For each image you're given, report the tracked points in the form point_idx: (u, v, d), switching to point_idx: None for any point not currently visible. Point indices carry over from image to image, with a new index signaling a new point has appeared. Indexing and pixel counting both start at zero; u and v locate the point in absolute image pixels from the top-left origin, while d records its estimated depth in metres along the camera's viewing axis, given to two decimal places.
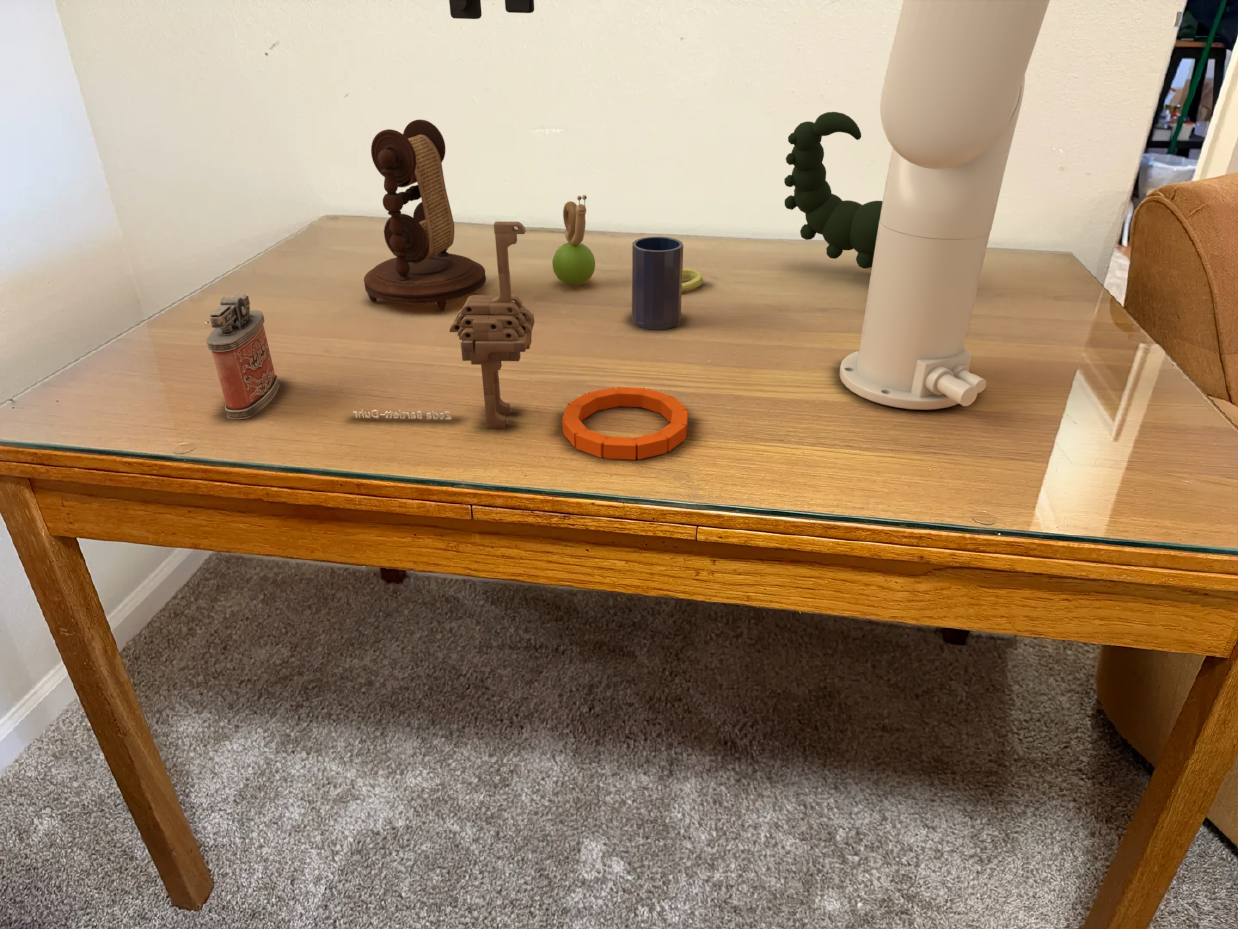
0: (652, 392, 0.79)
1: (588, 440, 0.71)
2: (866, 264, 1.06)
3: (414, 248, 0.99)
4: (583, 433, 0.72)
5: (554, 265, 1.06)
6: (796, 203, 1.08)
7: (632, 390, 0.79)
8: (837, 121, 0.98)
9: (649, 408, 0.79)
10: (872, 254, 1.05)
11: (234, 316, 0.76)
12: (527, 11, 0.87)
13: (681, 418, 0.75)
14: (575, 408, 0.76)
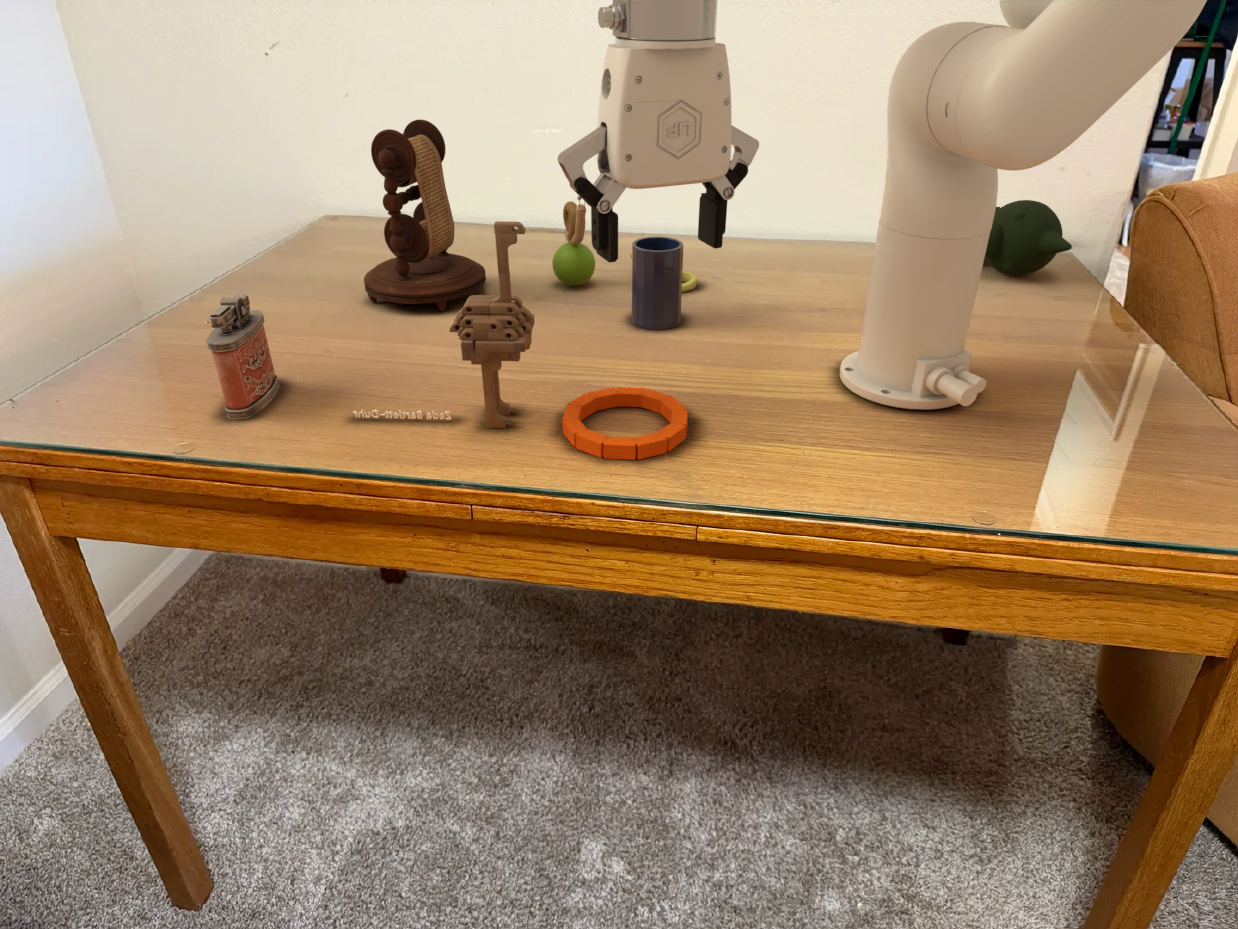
0: (652, 392, 0.79)
1: (588, 440, 0.71)
2: None
3: (414, 248, 0.99)
4: (583, 433, 0.72)
5: (554, 265, 1.06)
6: None
7: (632, 390, 0.79)
8: None
9: (649, 408, 0.79)
10: None
11: (234, 316, 0.76)
12: (712, 246, 0.72)
13: (681, 418, 0.75)
14: (575, 408, 0.76)
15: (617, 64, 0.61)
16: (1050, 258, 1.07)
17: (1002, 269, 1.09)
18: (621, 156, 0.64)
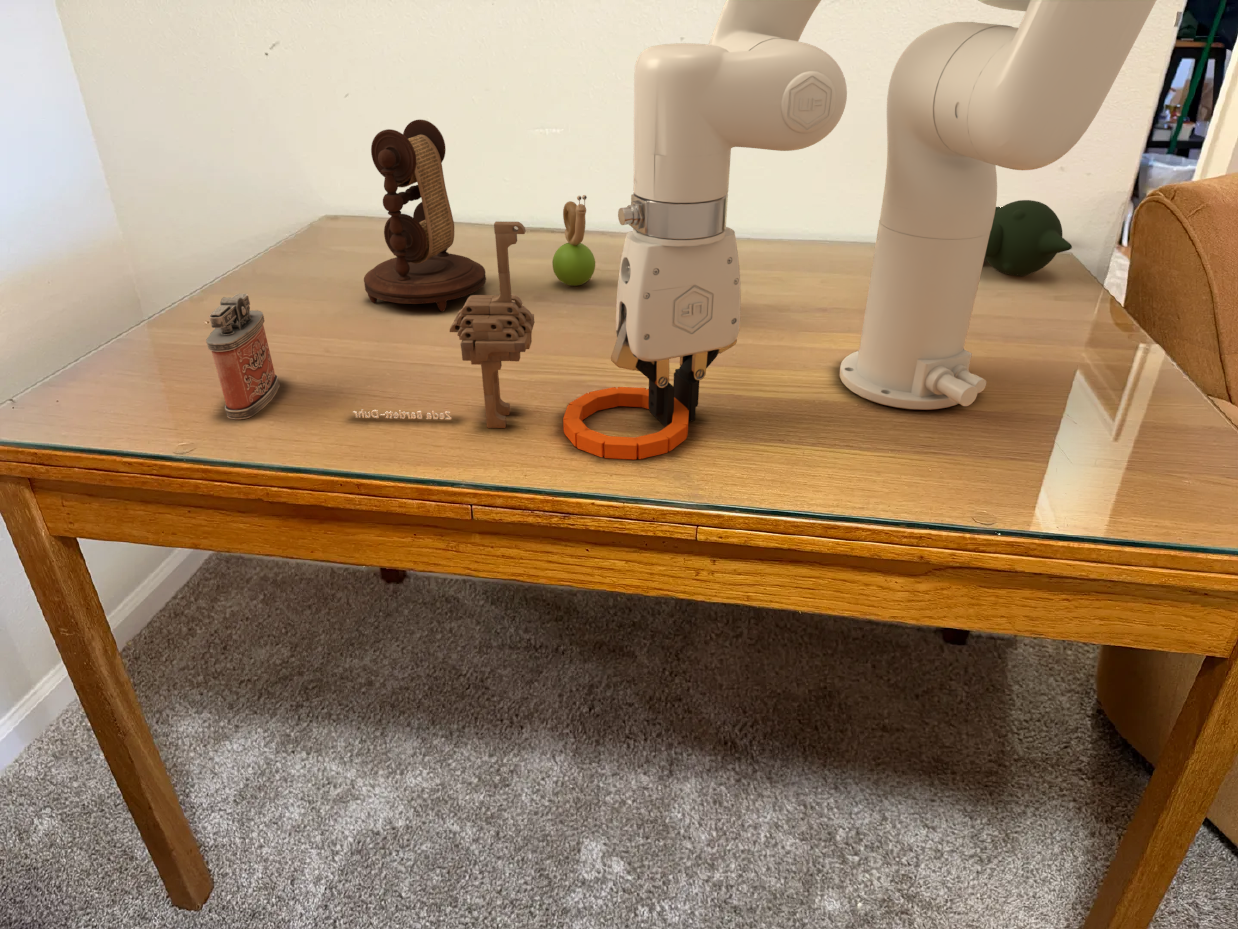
0: None
1: (589, 440, 0.71)
2: None
3: (414, 248, 0.99)
4: (584, 433, 0.72)
5: (554, 265, 1.06)
6: None
7: (633, 390, 0.79)
8: None
9: None
10: None
11: (234, 316, 0.76)
12: None
13: (682, 417, 0.75)
14: (576, 408, 0.76)
15: (636, 258, 0.67)
16: (1050, 258, 1.07)
17: (1002, 269, 1.09)
18: (640, 336, 0.69)
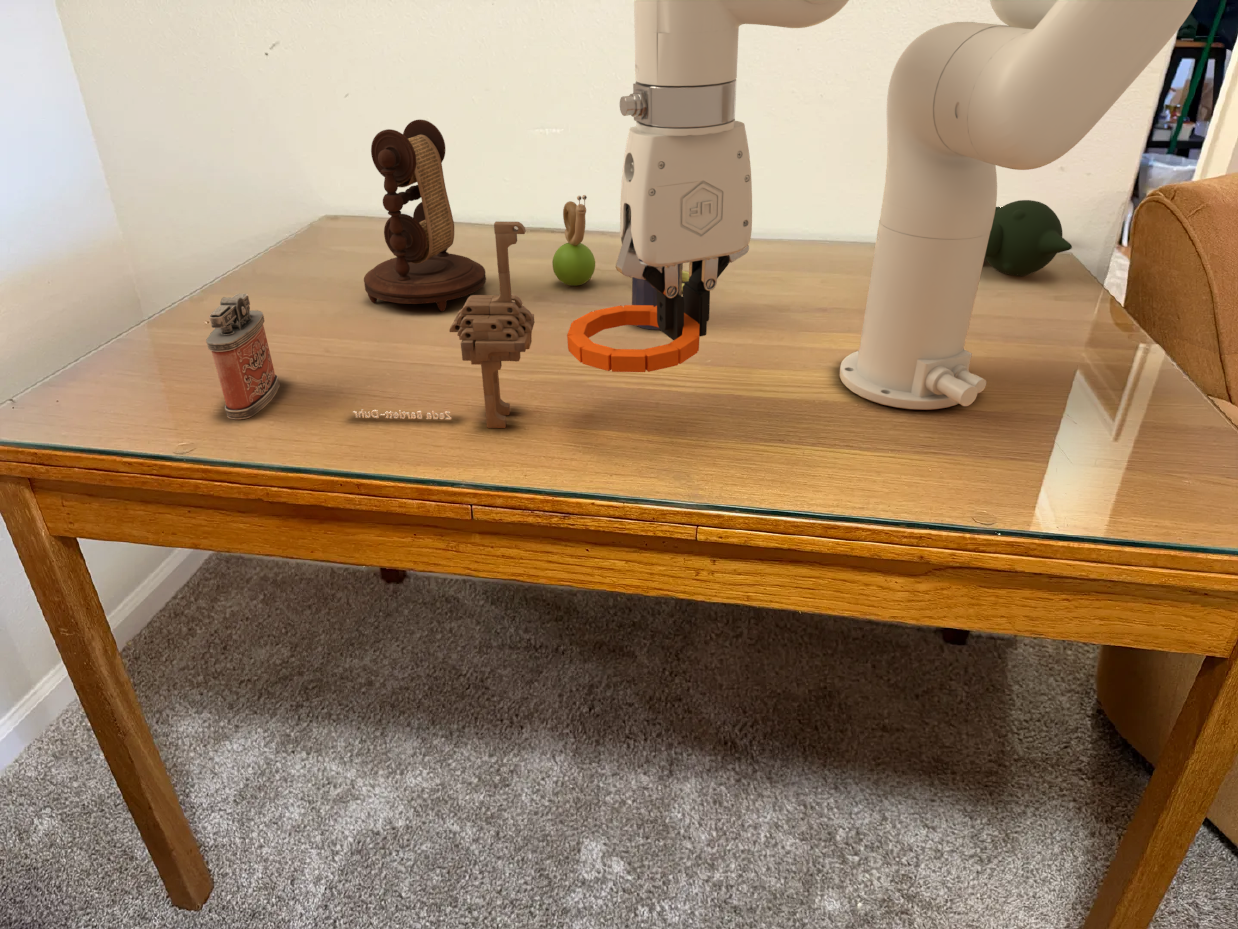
0: None
1: (595, 353, 0.68)
2: None
3: (414, 248, 0.99)
4: (589, 346, 0.68)
5: (554, 265, 1.06)
6: None
7: (640, 307, 0.75)
8: None
9: None
10: None
11: (234, 316, 0.76)
12: None
13: (693, 330, 0.71)
14: (580, 325, 0.72)
15: (640, 151, 0.62)
16: (1050, 258, 1.07)
17: (1002, 269, 1.09)
18: (646, 237, 0.65)
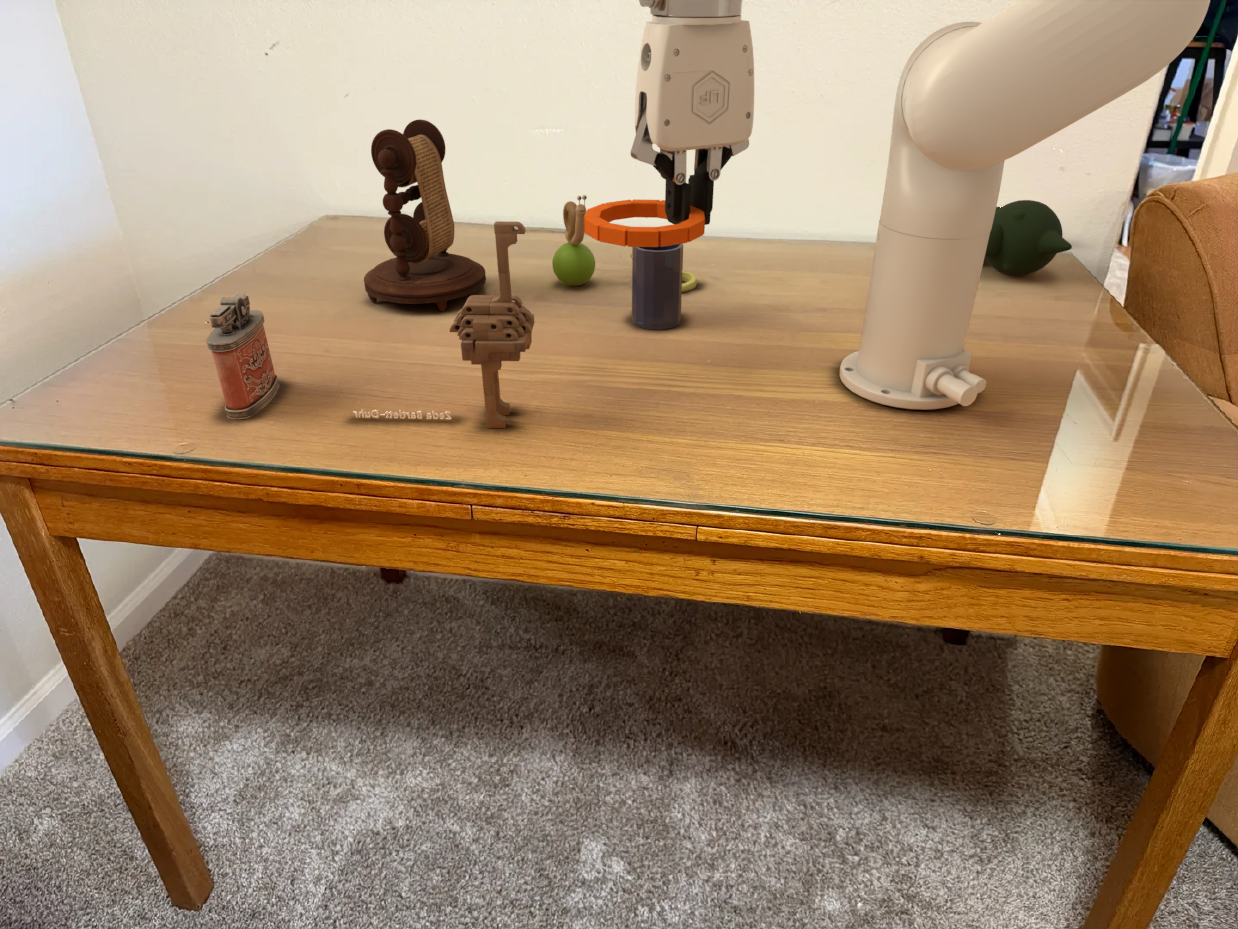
0: None
1: (612, 229, 0.74)
2: None
3: (414, 248, 0.99)
4: (606, 225, 0.75)
5: (554, 265, 1.06)
6: None
7: (648, 201, 0.82)
8: None
9: (665, 217, 0.82)
10: None
11: (234, 316, 0.76)
12: None
13: (699, 215, 0.77)
14: (595, 211, 0.79)
15: (657, 39, 0.69)
16: (1050, 258, 1.07)
17: (1002, 269, 1.09)
18: (660, 121, 0.72)
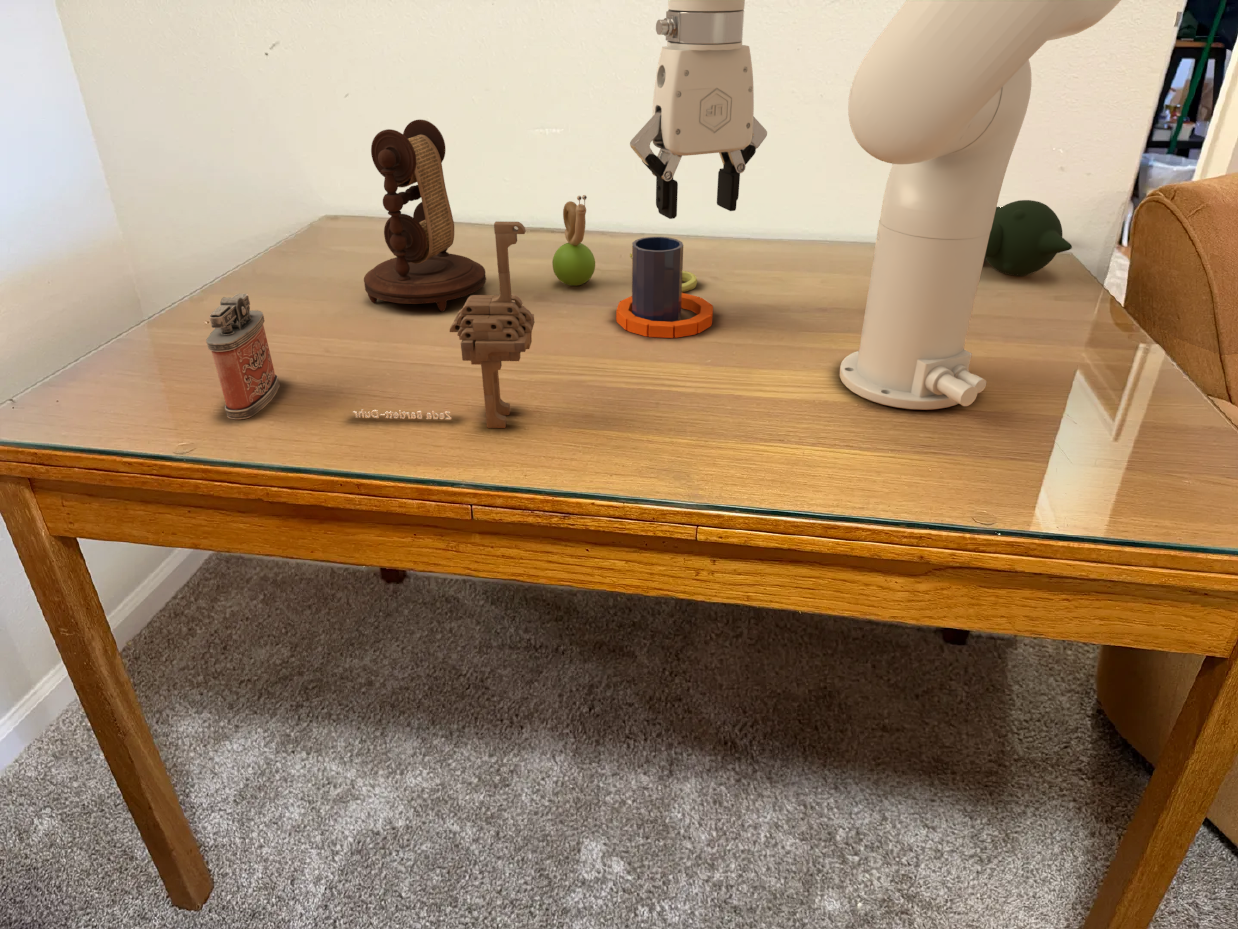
0: (685, 294, 1.01)
1: (637, 323, 0.94)
2: None
3: (414, 248, 0.99)
4: (633, 318, 0.95)
5: (554, 265, 1.06)
6: None
7: None
8: None
9: (682, 307, 1.01)
10: None
11: (234, 316, 0.76)
12: (728, 209, 0.94)
13: (708, 310, 0.97)
14: (626, 304, 0.99)
15: (670, 61, 0.83)
16: (1050, 258, 1.07)
17: (1002, 269, 1.09)
18: (672, 130, 0.85)
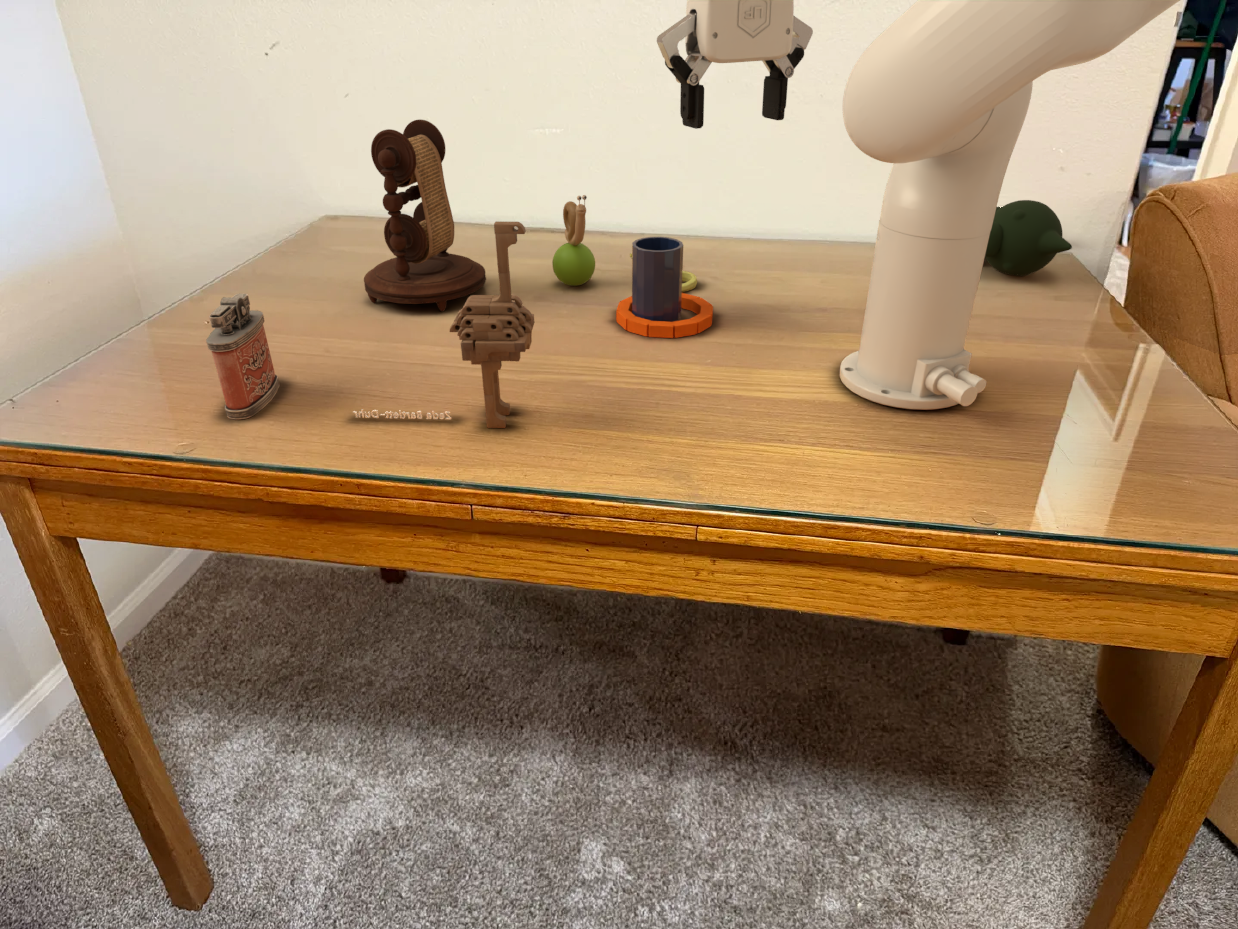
0: (685, 294, 1.01)
1: (637, 323, 0.94)
2: None
3: (414, 248, 0.99)
4: (633, 318, 0.95)
5: (554, 265, 1.06)
6: None
7: None
8: None
9: (682, 307, 1.01)
10: None
11: (234, 316, 0.76)
12: (776, 118, 0.88)
13: (708, 310, 0.97)
14: (626, 304, 0.99)
15: None
16: (1050, 258, 1.07)
17: (1002, 269, 1.09)
18: (709, 34, 0.80)
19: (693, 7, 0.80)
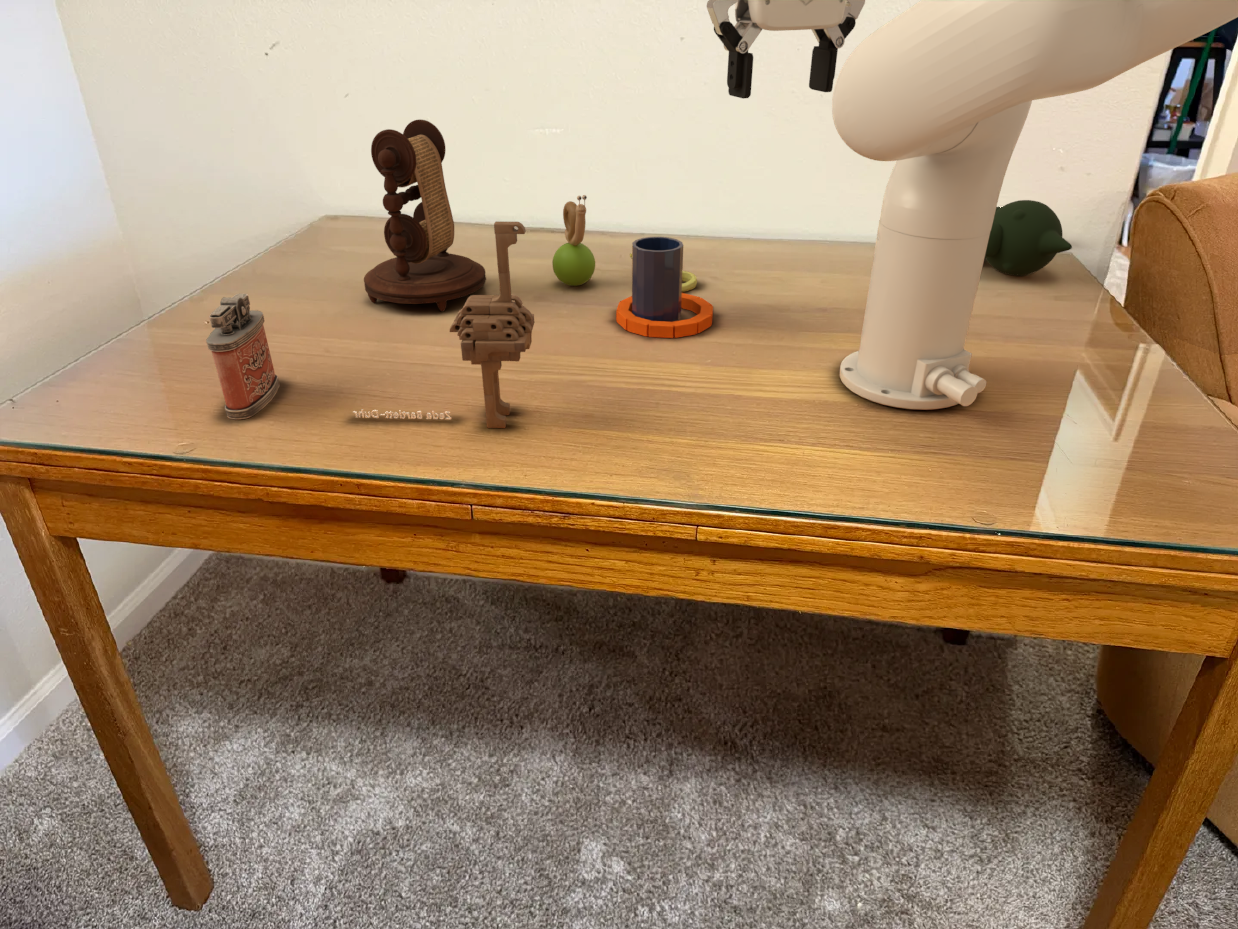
0: (685, 294, 1.01)
1: (637, 323, 0.94)
2: None
3: (414, 248, 0.99)
4: (633, 318, 0.95)
5: (554, 265, 1.06)
6: None
7: None
8: None
9: (682, 307, 1.01)
10: None
11: (234, 316, 0.76)
12: (824, 90, 0.86)
13: (708, 310, 0.97)
14: (626, 304, 0.99)
15: None
16: (1050, 258, 1.07)
17: (1002, 269, 1.09)
18: (761, 0, 0.77)
19: None
